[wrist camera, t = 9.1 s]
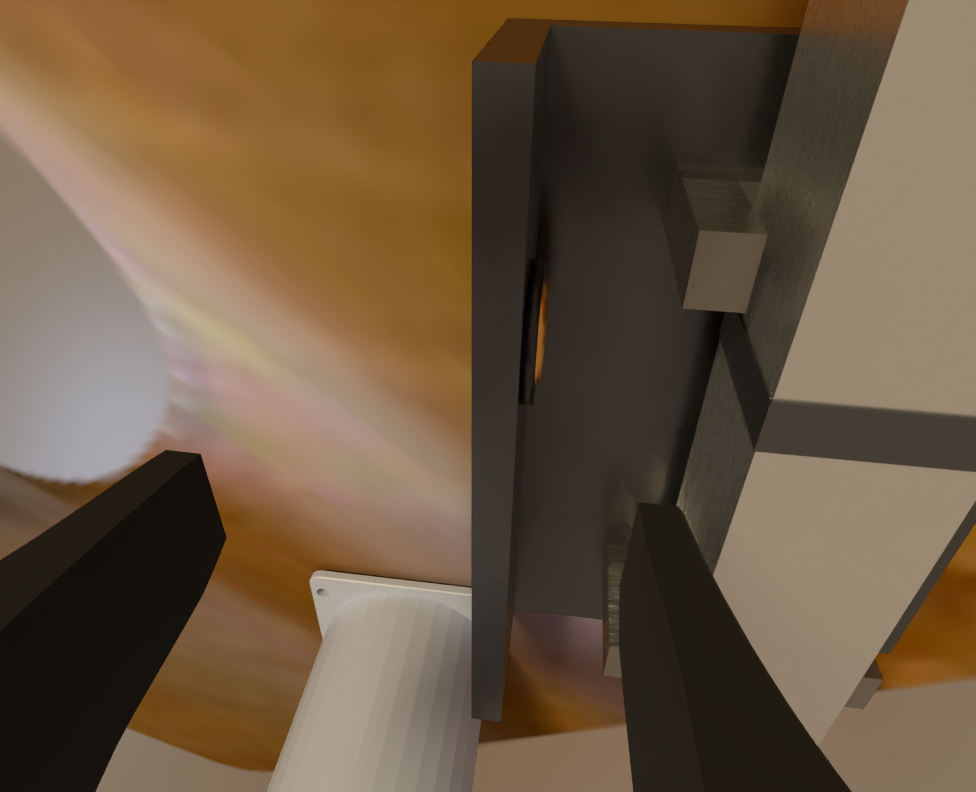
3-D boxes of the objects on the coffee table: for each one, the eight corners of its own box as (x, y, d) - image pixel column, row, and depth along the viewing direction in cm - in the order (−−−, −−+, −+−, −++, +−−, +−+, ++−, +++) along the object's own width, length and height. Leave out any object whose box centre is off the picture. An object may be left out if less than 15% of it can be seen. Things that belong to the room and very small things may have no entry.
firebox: (880, 630, 25) (941, 781, 21) (491, 585, 26) (471, 718, 22) (1244, 43, 13) (1569, 105, 9) (508, 18, 15) (472, 61, 10)
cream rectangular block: (774, 636, 23) (807, 769, 19) (644, 621, 23) (653, 748, 20) (1095, -53, 11) (1333, -40, 8) (820, -59, 12) (922, -48, 8)
